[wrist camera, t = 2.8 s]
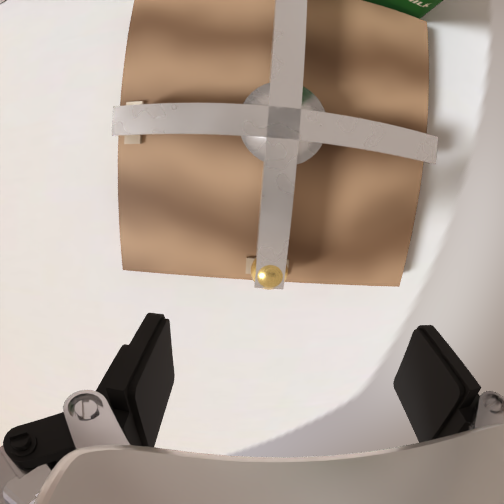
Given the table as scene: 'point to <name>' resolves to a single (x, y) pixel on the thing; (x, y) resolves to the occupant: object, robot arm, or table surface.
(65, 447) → the robot arm
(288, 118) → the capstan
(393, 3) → the milk carton
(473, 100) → the table surface
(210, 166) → the stand plate
